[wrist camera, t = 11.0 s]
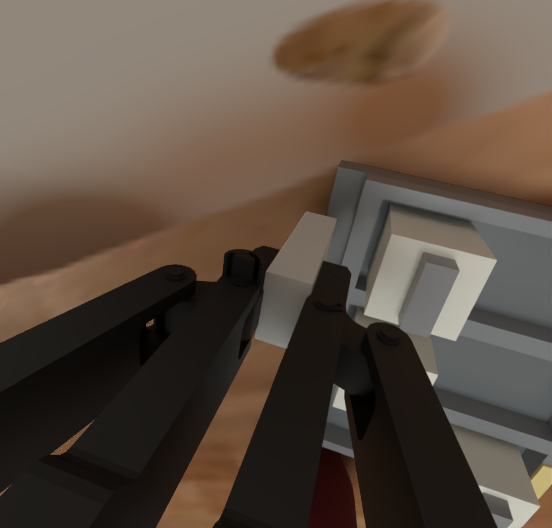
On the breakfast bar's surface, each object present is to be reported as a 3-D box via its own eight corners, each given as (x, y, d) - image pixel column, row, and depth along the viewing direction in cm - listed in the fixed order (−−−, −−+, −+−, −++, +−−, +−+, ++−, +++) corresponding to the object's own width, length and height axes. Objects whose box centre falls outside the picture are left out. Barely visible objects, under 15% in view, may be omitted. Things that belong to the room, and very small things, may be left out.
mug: (252, 396, 29) (197, 527, 21) (351, 397, 27) (335, 548, 18) (284, 481, 33) (248, 621, 25) (373, 490, 31) (368, 650, 22)
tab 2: (341, 352, 23) (329, 421, 18) (358, 300, 21) (350, 362, 16) (404, 372, 22) (410, 448, 17) (427, 320, 20) (441, 390, 16)
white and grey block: (367, 271, 20) (362, 327, 15) (389, 203, 18) (392, 242, 13) (441, 291, 19) (460, 356, 15) (471, 222, 18) (504, 271, 13)
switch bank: (284, 392, 28) (271, 431, 25) (342, 160, 20) (334, 173, 17) (525, 474, 26) (545, 528, 22) (712, 242, 17) (789, 276, 14)
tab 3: (422, 451, 24) (432, 538, 20) (445, 411, 23) (461, 496, 18) (484, 471, 24) (509, 567, 19) (512, 432, 22) (548, 527, 17)
